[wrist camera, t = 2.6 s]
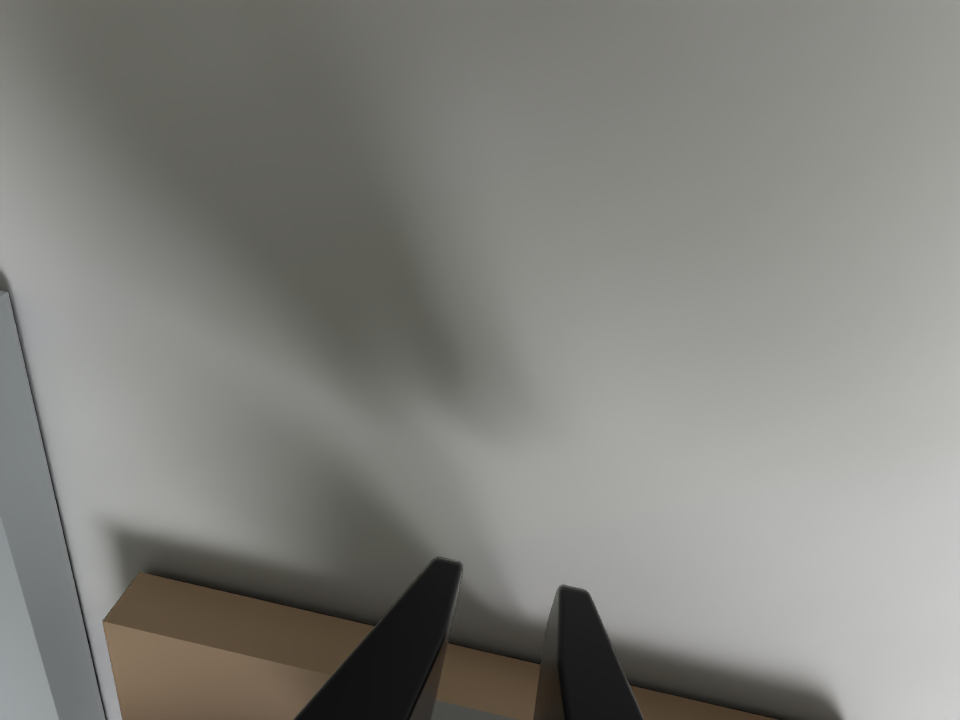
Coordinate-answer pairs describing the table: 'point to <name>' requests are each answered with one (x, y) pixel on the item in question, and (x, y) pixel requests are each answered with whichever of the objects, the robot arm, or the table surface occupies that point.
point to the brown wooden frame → (295, 662)
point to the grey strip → (35, 567)
